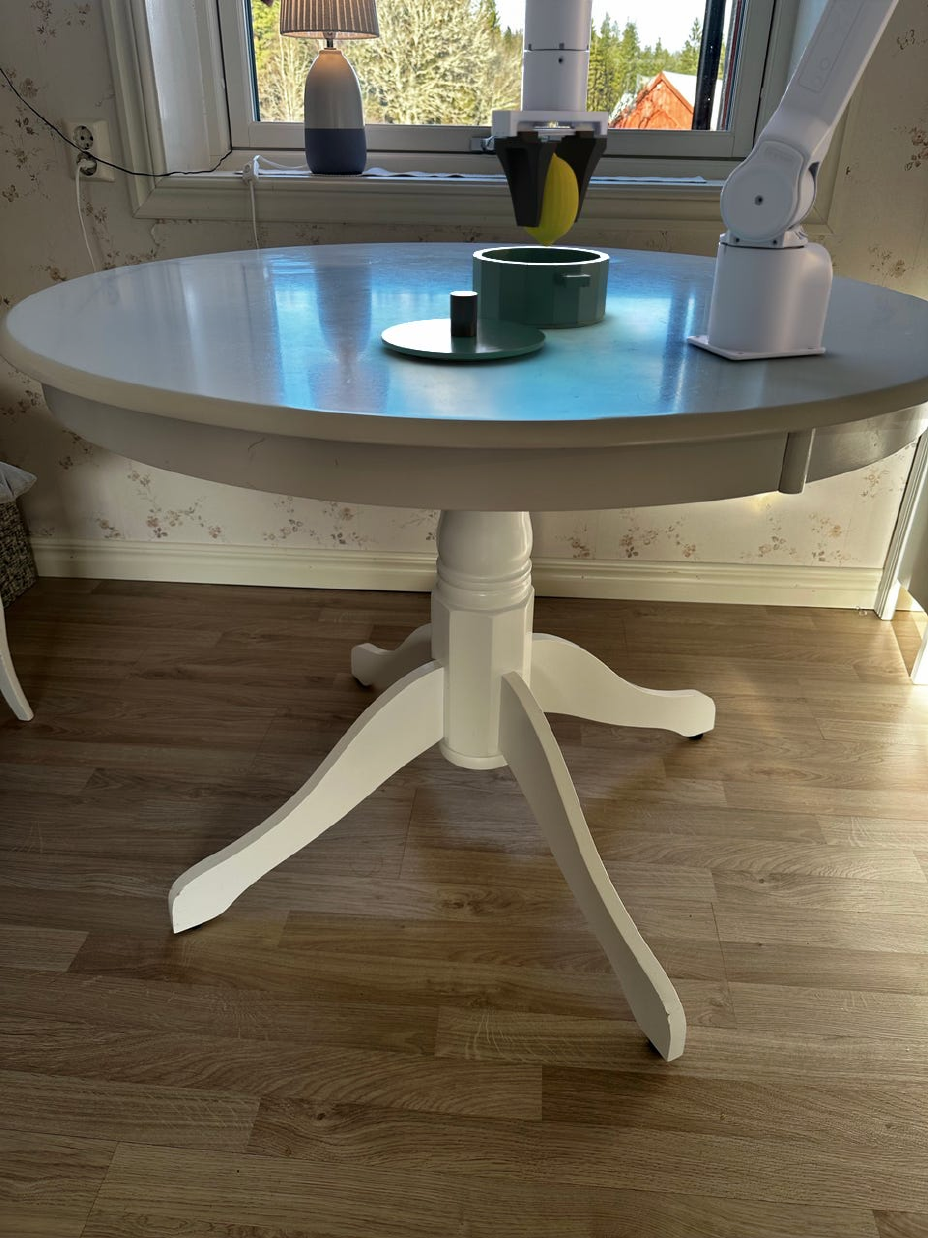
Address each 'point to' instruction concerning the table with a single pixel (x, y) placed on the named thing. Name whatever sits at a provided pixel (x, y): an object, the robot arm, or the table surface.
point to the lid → (463, 335)
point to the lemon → (557, 203)
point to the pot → (541, 286)
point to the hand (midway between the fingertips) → (547, 224)
